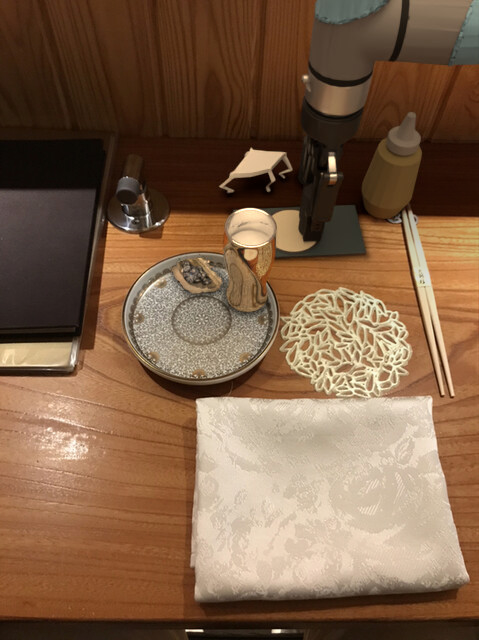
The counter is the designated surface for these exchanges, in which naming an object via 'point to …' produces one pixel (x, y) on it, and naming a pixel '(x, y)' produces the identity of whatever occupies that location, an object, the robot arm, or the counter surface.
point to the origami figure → (258, 166)
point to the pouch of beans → (196, 275)
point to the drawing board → (335, 240)
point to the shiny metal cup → (249, 257)
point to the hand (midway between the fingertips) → (309, 227)
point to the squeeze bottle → (393, 171)
